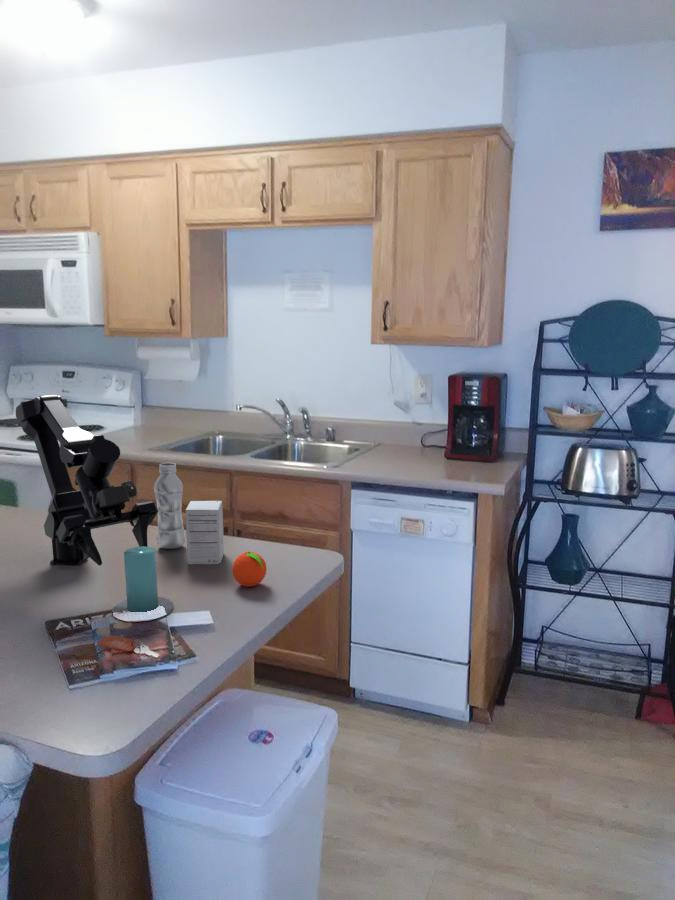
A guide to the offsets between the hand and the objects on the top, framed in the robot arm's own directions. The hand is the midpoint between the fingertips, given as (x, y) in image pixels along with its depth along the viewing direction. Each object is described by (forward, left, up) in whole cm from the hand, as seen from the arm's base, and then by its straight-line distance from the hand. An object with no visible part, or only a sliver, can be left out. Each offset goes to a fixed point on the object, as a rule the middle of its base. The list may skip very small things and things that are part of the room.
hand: (123, 558), depth 137 cm
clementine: (+23, +8, -8) cm, 26 cm away
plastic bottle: (0, +30, -8) cm, 31 cm away
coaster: (+5, -5, -8) cm, 11 cm away
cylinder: (+5, -5, -8) cm, 10 cm away
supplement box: (+10, +23, -8) cm, 26 cm away
